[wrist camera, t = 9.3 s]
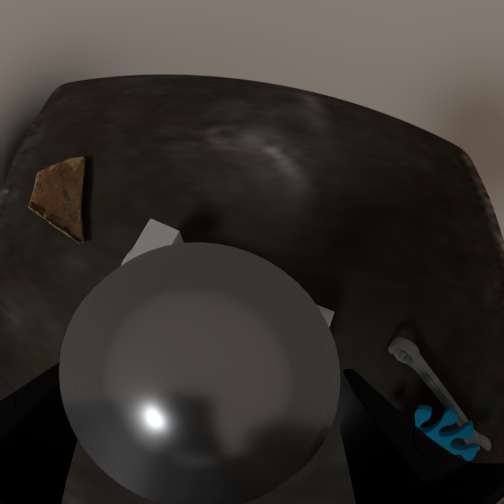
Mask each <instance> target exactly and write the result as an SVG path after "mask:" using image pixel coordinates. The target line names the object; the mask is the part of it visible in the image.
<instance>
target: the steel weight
mask: <svg viewBox="0 0 504 504" xmlns="http://www.w3.org/2000/svg"><path fill="white" fill-rule="evenodd" d="M59 379H60V390H61V396H62V401H63V405H64V408H65V411H66V414H67V417H68V420H69V423H70V425H71V427H72V429H73V431H74V433H75V435H76V437H77V438H78V440H79V442H80V443H81V445H82V446H83V448H84V449H85V451H86V452H87V453H88V454H89V456H90V457H91V458H92V459H93V460H94V462H95V463H96V464H97V465H98V466H99V467H100V468H101V469H102V470H103V471H104V472H105V473H107V474H108V475H109V476H110V477H111V478H113V479H114V480H115V481H117V482H118V483H119V484H121V485H122V486H124V487H125V488H127V489H129V490H130V491H132V492H134V493H136V494H138V495H140V496H142V497H144V498H147V499H149V500H152V501H154V502H157V503H161V504H243V503H246V502H249V501H252V500H254V499H257V498H259V497H261V496H263V495H265V494H266V493H268V492H270V491H272V490H274V489H275V488H276V487H278V486H279V485H281V484H282V483H284V482H286V481H287V480H288V479H290V478H291V477H292V476H294V475H295V474H296V473H297V472H299V471H300V470H301V469H302V468H303V467H304V466H305V465H306V464H307V463H308V462H309V461H310V460H311V458H312V457H313V456H314V455H315V453H316V452H317V450H318V449H319V448H320V446H321V445H322V443H323V442H324V440H325V438H326V436H327V434H328V432H329V430H330V428H331V425H332V422H333V420H334V417H335V414H336V410H337V405H338V400H339V395H340V367H339V358H338V354H337V350H336V345H335V341H334V339H333V336H332V334H331V331H330V328H329V326H328V324H327V322H326V320H325V318H324V317H323V315H322V313H321V311H320V309H319V308H318V307H317V305H316V304H315V302H314V301H313V300H312V298H311V297H310V296H309V294H308V293H307V292H306V291H305V290H304V289H303V288H302V287H301V286H300V285H299V284H298V283H297V282H296V281H295V280H294V279H293V278H291V277H290V276H289V275H288V274H287V273H285V272H284V271H283V270H281V269H280V268H278V267H277V266H275V265H274V264H272V263H270V262H269V261H267V260H265V259H263V258H261V257H259V256H257V255H255V254H252V253H250V252H247V251H244V250H241V249H238V248H235V247H231V246H226V245H221V244H215V243H201V242H195V243H179V244H174V245H168V246H163V247H160V248H157V249H153V250H150V251H147V252H145V253H143V254H141V255H139V256H136V257H134V258H132V259H131V260H129V261H127V262H126V263H124V264H123V265H121V266H119V267H118V268H117V269H116V270H114V271H113V272H112V273H111V274H110V275H108V276H107V277H106V278H105V279H104V280H102V281H101V282H100V283H99V284H98V285H97V286H95V287H94V288H93V290H92V291H91V292H90V293H89V294H88V295H87V296H86V297H85V298H84V300H83V301H82V303H81V304H80V306H79V307H78V309H77V310H76V312H75V313H74V315H73V317H72V319H71V321H70V323H69V326H68V328H67V331H66V334H65V337H64V340H63V344H62V349H61V354H60V365H59Z"/></svg>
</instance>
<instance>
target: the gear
mask: <svg viewBox="0 0 504 504" xmlns="http://www.w3.org/2000/svg"><path fill="white" fill-rule="evenodd" d="M431 412H432V407H430V406H427V405H419V406H418V407H417V409H416V412H415V425H414V426H417V427H418V428H419V429H420V430H421V431H422V432H424V433H425V434H426V435H427V436H429V437H430V438H431V439H432V440H434V441H435V442H436V443H438V444H439V445H441V446H442V447H444V448H445V449H446V450H448V451H449V452H451V453H452V454H454V455H457V454H461V455H462V456H463V457H464V459H465V460H467V461H469V460H472V459H473V458H474V457H475V455H476V453H477V450H478V444H477V443H474V442H473V443H470V444H466V445H458V444H454V443H452V442H451V441H452V440H453V439H455V438H462V439H465V440H467V439H470V438H472V437H473V435H474V427H473V423H472V421H467V422H465V423H464V424H463V425H462V426H460V427H459V428H457V429H455V430H453V431H448V432H441V431H440V429H441V428H442V427H443V426H448V425H452V424H454V423H455V422H456V421H457V420H458V412H457V411H456V410H455V409H454V408H453V407H451V406H449V407H447V408H446V409H445V410H444V412H443V415H442V417H441V418H440V419H439V421H438V422H437V423H435V424H434V425H432V426H431V427H424V428H422V427H421V424H422V423H424V422H425V421H427V420H428V419H429V418H430V417H431Z"/></svg>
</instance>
